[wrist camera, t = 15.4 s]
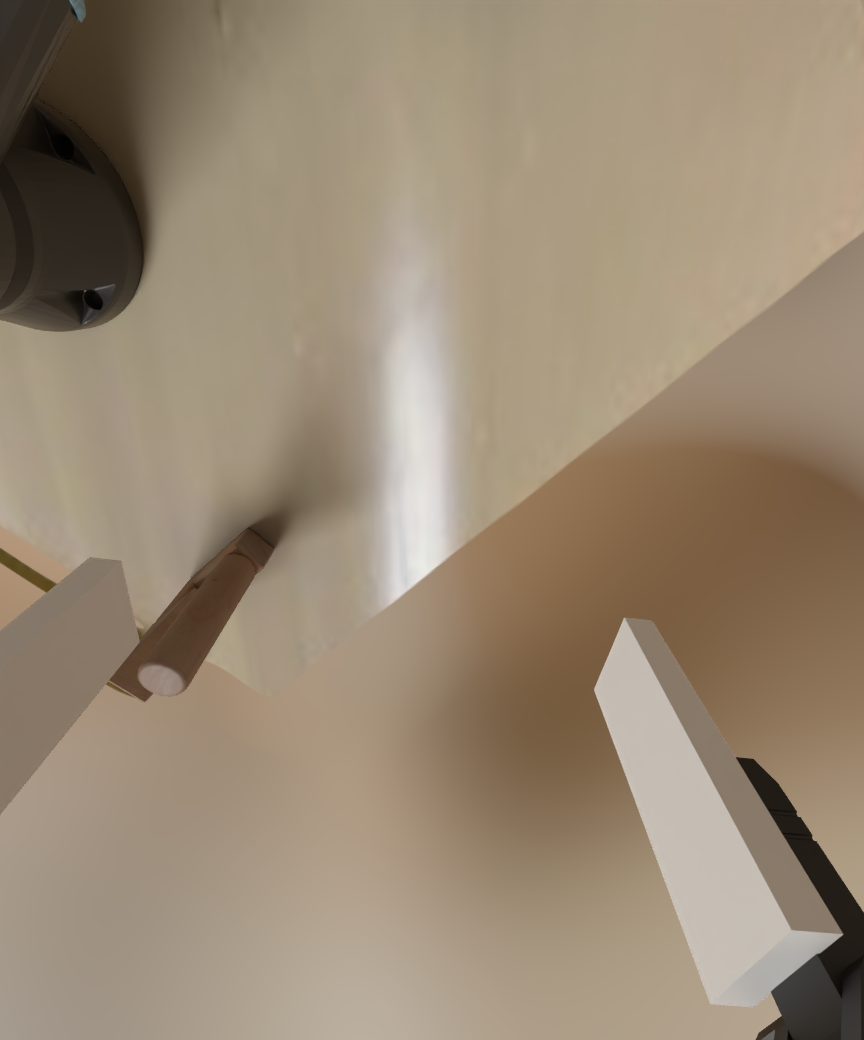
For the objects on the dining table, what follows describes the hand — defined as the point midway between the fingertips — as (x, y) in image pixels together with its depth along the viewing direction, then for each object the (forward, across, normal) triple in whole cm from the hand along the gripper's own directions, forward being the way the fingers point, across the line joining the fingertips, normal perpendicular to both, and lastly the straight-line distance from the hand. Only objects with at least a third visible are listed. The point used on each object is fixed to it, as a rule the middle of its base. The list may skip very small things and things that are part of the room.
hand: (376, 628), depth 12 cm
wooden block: (+32, -18, -22) cm, 43 cm away
